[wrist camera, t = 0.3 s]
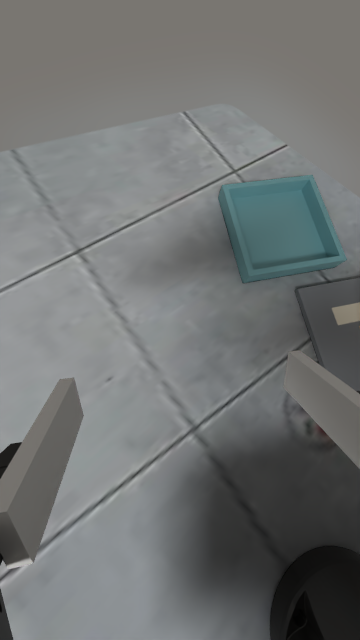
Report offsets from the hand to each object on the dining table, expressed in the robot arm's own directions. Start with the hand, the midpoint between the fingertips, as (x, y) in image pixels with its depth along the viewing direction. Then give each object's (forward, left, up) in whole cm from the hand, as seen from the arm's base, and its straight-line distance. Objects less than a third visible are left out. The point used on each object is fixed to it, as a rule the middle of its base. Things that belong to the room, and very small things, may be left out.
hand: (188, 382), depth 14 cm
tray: (+19, -20, -16) cm, 31 cm away
